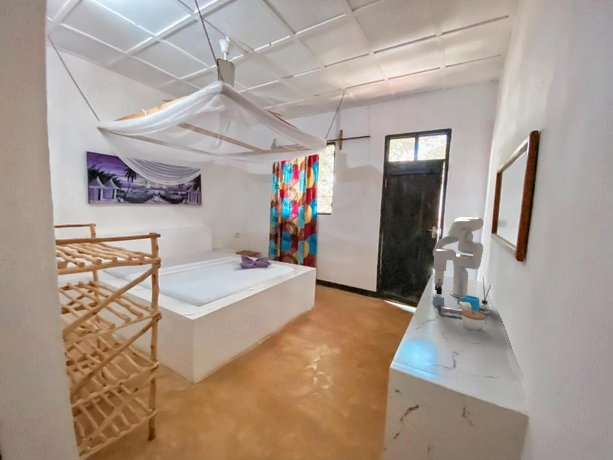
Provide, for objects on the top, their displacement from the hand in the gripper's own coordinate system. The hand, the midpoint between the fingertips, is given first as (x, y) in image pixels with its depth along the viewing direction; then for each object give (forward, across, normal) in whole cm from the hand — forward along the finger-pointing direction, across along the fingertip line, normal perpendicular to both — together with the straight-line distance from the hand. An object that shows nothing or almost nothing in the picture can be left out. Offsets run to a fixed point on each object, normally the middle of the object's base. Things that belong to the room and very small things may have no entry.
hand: (438, 292), depth 165 cm
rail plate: (+9, +12, +9) cm, 17 cm away
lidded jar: (+9, +29, +15) cm, 34 cm away
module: (+9, -1, +1) cm, 9 cm away
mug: (+9, 0, +18) cm, 20 cm away
